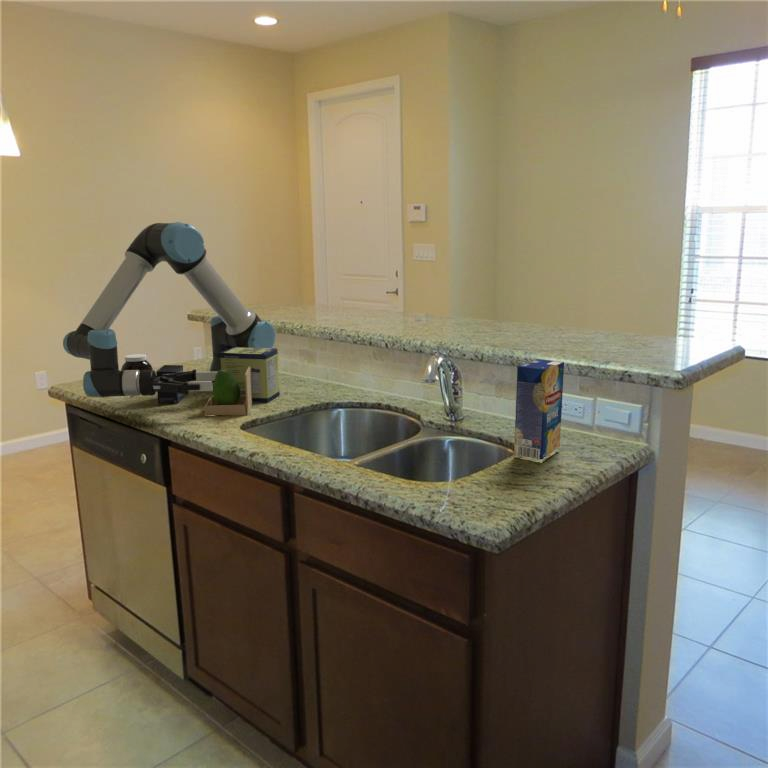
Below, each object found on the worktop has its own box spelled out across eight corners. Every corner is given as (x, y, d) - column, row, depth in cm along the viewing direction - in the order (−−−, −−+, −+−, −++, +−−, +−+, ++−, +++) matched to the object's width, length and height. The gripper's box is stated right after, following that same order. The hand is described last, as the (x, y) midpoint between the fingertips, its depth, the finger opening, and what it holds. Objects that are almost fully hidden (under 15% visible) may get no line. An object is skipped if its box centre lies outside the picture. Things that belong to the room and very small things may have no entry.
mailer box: (210, 406, 215) (208, 367, 212) (252, 405, 216) (250, 366, 213) (205, 416, 203) (202, 375, 201) (248, 415, 205) (246, 374, 202)
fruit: (246, 407, 211) (244, 367, 208) (228, 413, 204) (226, 372, 202) (226, 404, 215) (224, 365, 212) (208, 409, 208) (205, 370, 206)
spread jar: (125, 394, 231) (122, 359, 229) (118, 387, 241) (115, 353, 238) (162, 389, 237) (159, 355, 235) (154, 383, 247) (151, 350, 244)
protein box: (235, 393, 231) (232, 346, 228) (280, 395, 228) (278, 348, 225) (221, 401, 221) (218, 352, 218) (268, 403, 218) (266, 353, 215)
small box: (178, 404, 218) (176, 370, 216) (157, 404, 217) (154, 371, 215) (186, 396, 228) (183, 364, 226) (165, 396, 228) (163, 364, 225)
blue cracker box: (559, 451, 170) (564, 361, 165) (541, 463, 162) (545, 369, 157) (533, 446, 174) (537, 358, 169) (513, 458, 165) (517, 366, 161)
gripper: (151, 386, 218) (221, 384, 220) (131, 406, 194) (210, 403, 196) (149, 362, 216) (219, 360, 218) (129, 379, 192) (208, 377, 194)
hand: (215, 380), depth 207 cm, fingers open, 13 cm apart
